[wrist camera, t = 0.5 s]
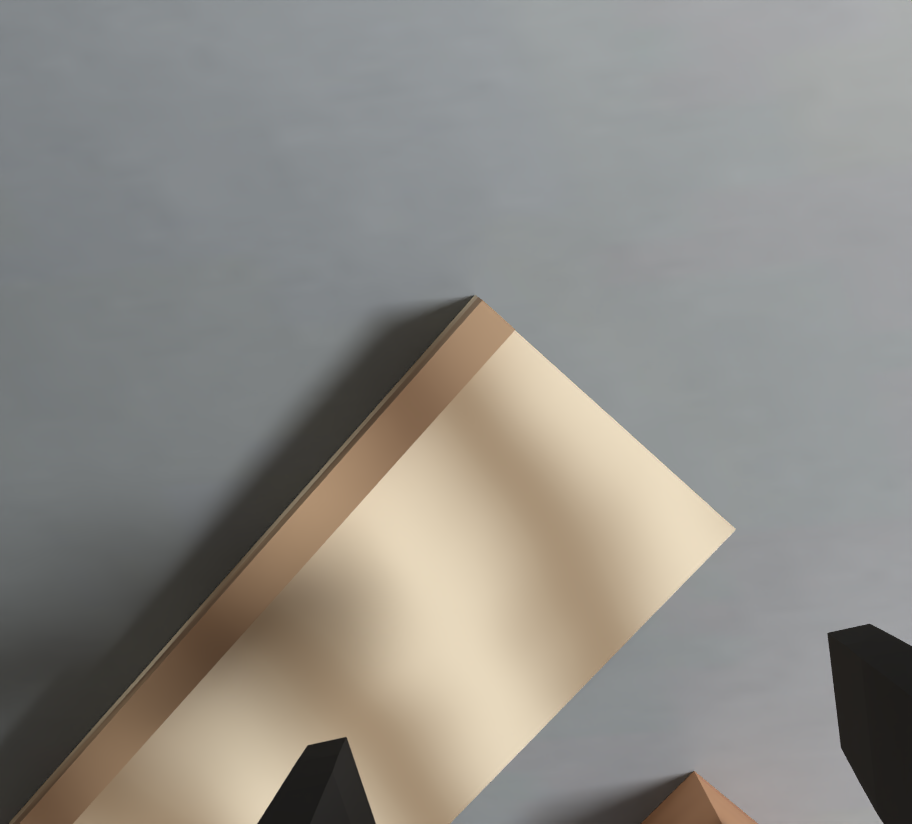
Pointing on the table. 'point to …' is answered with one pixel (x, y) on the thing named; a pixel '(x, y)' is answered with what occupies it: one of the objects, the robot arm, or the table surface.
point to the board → (406, 603)
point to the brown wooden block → (697, 806)
